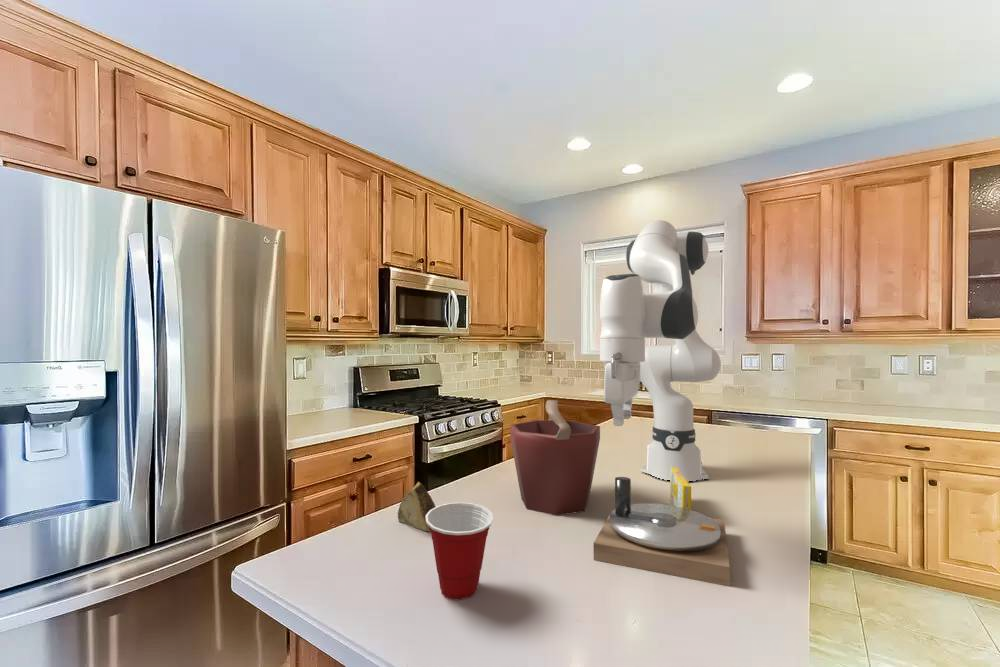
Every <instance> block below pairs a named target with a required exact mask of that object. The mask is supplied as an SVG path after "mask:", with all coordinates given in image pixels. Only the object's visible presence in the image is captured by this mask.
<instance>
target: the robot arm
mask: <svg viewBox="0 0 1000 667" xmlns="http://www.w3.org/2000/svg"><path fill="white" fill-rule="evenodd" d="M708 255H709V244H708V241H707V240H706V237H705V235H704V234H703V233H701V232H698V231H688V232H677V230H676V228H675V227H674V225H673V224H672V223H670V222H669V221H666V220H662V219H657V220H653V221H650V222H649V223H647V224H646V225H645V226H644V227H642V229H641V230H640V232H639V233H638V234H637V236H636V238H635V239H633V240H631V241H630V242H629V244H628V245H627V248H626V252H625V262H626V265H627V269H628V270H629V271H630V272H631V273H622V274H613V275H609V276H606V277H604V279H603V280H602V284H601V289H600V298H599V300H600V301H599V321H600V323H601V331H600V335H599V361H600V362H604V363H605V368H604V378H603V380H604V381H603V389H604V390H603V399H604V403H605V404H610V406H611V407H610V408H611V413H612V424H613V426H614V427H622V426H623V425H624V424H625V420H630V419H631V417H632V407H633V398H634V397H635V396H637V395H638V393H639V386H640V382H641V383H642V384H643V386H644V387H645V388H646V390H647V392H648V394H649V395H650V399H651V403H652V409H653V411H652V412H653V427H652V431H651V434H652V439H653V440H652V441H651V442H650V443H649V444H648V445H647V447H646V448H647V451H646V452H647V453H646V456H647V457H646V465H645V466H643V467H641V469H640V472H641V471H643V472H646V473H649V474H651V475H652V476H655V477H657V478H656V479H658V478H660V479H659V480H662V479H664V480H663V481H667V480H670V476H671V467H673V468H678V469H679V471H680V472H681V474H682V475H683V477H684V478H685V479H686V481H687V482H688V483H690V482H689V481H693V482H697V481H696V480H698V481H705V480H704V479H708V480H710V476H709V474H707V472H706V471H705V470H704V468H703V467H702V465H703V462H702V451H701V449H700V448H699V447H698V446H697V444H696V443H695V442H696V436H697V435H696V430H695V428H694V404H693V402H692V400H690V399H689V397H687V396H686V395H684V394H682V393H680V392H677V390H674V389H673V387H672V385H671V383H673V382H680V383H681V382H684V383H699V382H701V383H702V382H706V381H713V380H714V379H715V378H716V377H717V376H718V375H719V373H720V371H721V364H722V363H721V362H722V361H721V358H720V355H719V353H718V352H717V351H716V350H715V348H714V347H712V346H710V345H709V344H708V343H706V342H705V341H704V340H703V338H702V337H701V336H700V334H699V333H698V331H697V326H698V322H699V313H698V312H699V311H698V307H697V304H696V301H695V299H694V297H693V285H692V280H691V275H692V276H693V275H695V273H696V272H697V271H698V270H701V269H702V267H703V266H704V265H705V264H706V262H707V258H708ZM643 282H646V283H650V284H652V285H653V286H652V292H649V293H644V289H643V288H644V287H643ZM648 338H650V339H653V338H654V339H655V338H656V339H658V338H661V339H663V338H666V339H674V342H675V343H674V344H647V345H646V339H648ZM652 476H651V477H652ZM655 477H654V478H655ZM702 479H703V480H702Z"/></svg>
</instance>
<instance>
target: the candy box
mask: <svg viewBox="0 0 1000 667" xmlns="http://www.w3.org/2000/svg"><path fill="white" fill-rule="evenodd" d="M669 483H670V484H669V485H670V486H669V488H670V489H669V500H670V502H671V504H672V506H677V507H681V508H686V509H689V510H692V509H691V508H692V486H691V485H690V482H687V481H686V479H685V478H684V477H683V475H682V474H681V472H680V471H679V469H678V468H673V467H671V476H670V481H669Z"/></svg>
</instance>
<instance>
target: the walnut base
mask: <svg viewBox="0 0 1000 667" xmlns="http://www.w3.org/2000/svg"><path fill="white" fill-rule="evenodd" d="M613 510H615V505H614V506H613V508H612V510H611V511H610V513H611V512H612V511H613ZM710 518H711V519H712V520H714V521H715V522H716V523H717V524H718V525H719V527H720V534H721V537H720V540H719V542H718V543H717V544H715V545H714V546H712V547H709V548H705V549H701V550H692V551H675V550H665V549H658V548H653V547H649V546H645V545H641V544H638V543H635V542H632V541H630V540H628V539H625V538H623V537H622V536H620V535H618V534H617V533H616V532H615V531H614V530H613V529H612V528H611V526H610V514H608V517H607V519H606V520H605V522H604V523H603V526H602V527H601V529H600V531H599V533H598V534H597V536H596V538H595V540H594V542H593V561H598V562H604V563H609V564H614V565H619V566H624V567H627V568H628V567H629V568H634V569H640V570H644V571H650V572H654V573H659V574H665V575H671V576H675V577H681V578H686V579H689V580H695V581H702V582H707V583H712V584H717V585H722V586H728V587H731V569H730V560H729V557H730V556H729V551H728V550H729V549H728V541H727V532H726V525H725V519H720V518H714V517H710Z"/></svg>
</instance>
